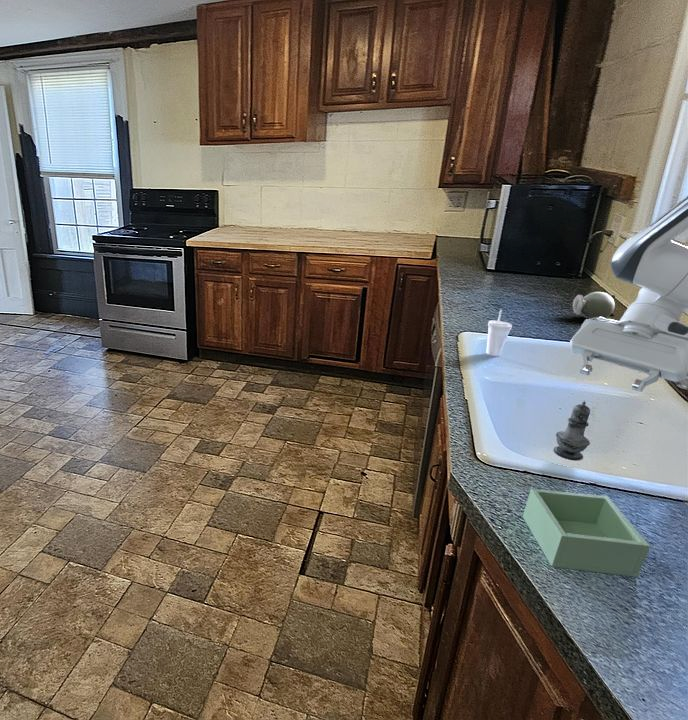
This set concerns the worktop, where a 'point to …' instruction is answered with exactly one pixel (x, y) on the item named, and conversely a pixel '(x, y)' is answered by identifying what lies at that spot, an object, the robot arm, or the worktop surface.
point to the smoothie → (497, 335)
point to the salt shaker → (574, 435)
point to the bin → (584, 533)
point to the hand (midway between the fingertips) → (609, 381)
